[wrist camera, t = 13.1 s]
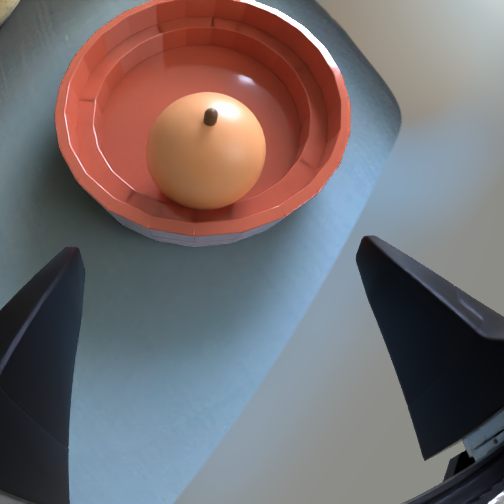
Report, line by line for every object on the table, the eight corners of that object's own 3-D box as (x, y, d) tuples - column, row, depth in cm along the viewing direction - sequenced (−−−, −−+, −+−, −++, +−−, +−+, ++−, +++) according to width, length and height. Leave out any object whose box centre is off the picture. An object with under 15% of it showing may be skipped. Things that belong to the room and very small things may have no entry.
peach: (263, 209, 21) (305, 161, 13) (166, 236, 19) (152, 198, 12) (235, 124, 21) (258, 51, 14) (144, 146, 20) (127, 73, 12)
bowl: (358, 124, 24) (391, 95, 19) (217, 304, 20) (227, 311, 15) (195, 9, 22) (200, -31, 17) (35, 143, 19) (6, 112, 14)
